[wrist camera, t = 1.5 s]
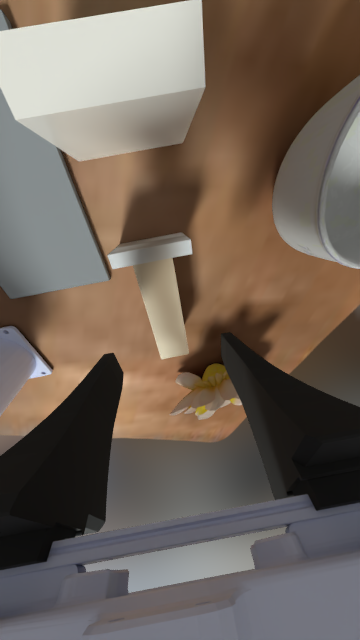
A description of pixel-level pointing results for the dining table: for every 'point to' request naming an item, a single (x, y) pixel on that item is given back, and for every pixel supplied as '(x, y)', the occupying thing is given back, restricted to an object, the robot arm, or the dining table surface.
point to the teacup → (323, 183)
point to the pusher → (158, 286)
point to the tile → (107, 79)
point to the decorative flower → (206, 392)
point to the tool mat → (40, 215)
